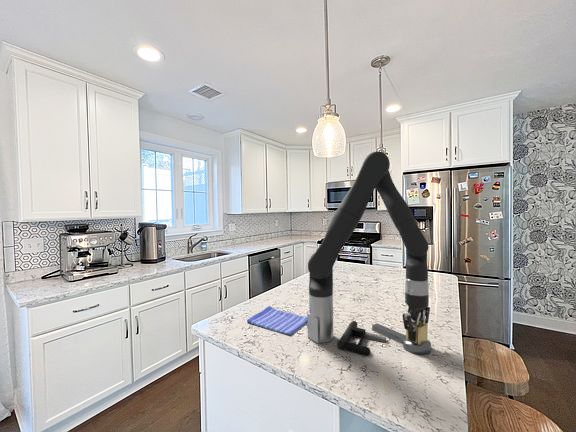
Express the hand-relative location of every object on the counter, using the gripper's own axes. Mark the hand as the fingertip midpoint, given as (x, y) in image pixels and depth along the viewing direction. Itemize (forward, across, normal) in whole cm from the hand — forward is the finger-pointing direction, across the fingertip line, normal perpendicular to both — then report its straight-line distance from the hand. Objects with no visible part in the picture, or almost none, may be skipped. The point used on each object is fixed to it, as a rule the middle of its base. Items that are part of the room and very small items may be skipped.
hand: (416, 338), depth 95 cm
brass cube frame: (+1, 0, 0) cm, 1 cm away
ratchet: (+4, 0, -7) cm, 8 cm away
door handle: (+4, +12, -15) cm, 19 cm away
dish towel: (+4, +28, -48) cm, 56 cm away
